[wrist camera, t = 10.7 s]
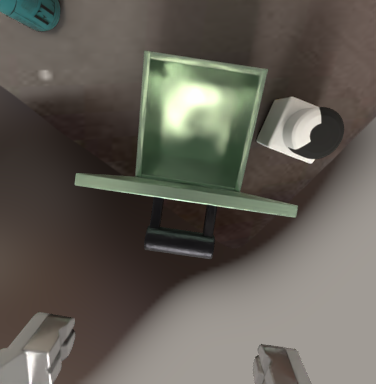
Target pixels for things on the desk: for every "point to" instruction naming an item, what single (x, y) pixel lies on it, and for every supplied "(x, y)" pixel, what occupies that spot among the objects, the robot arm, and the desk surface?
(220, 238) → the desk surface
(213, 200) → the lid
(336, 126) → the medicine bottle
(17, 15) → the beverage bottle
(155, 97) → the green open box
